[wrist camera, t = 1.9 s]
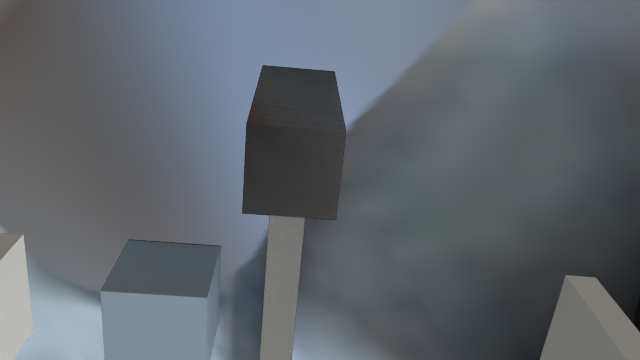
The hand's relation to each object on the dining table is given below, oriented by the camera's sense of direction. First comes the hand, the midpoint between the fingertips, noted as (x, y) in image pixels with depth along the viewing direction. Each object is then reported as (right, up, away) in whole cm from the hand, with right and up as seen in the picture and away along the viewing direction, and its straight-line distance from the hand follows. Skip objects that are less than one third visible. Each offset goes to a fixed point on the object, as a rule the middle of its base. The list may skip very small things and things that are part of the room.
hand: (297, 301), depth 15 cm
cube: (-8, -3, +19) cm, 21 cm away
